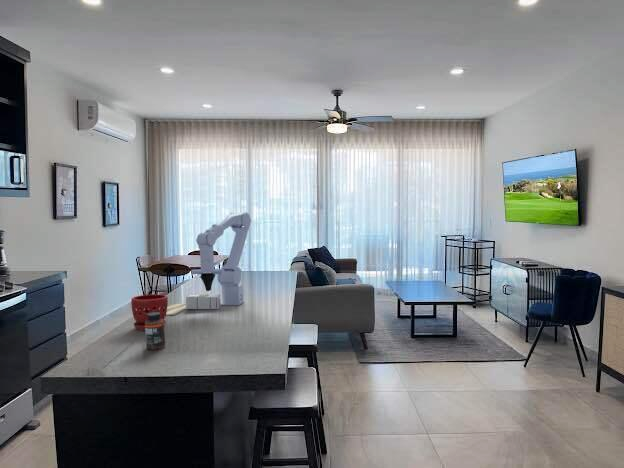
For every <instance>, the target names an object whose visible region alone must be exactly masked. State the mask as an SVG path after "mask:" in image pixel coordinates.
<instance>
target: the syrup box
mask: <svg viewBox="0 0 624 468" xmlns="http://www.w3.org/2000/svg"><path fill="white" fill-rule="evenodd" d="M185 304H186V309H187V310H219V309H220V307H221V305H220V304H221V294H198V293H197V294H190V293H189V294H188V295H187V296H186V297H185Z"/></svg>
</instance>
